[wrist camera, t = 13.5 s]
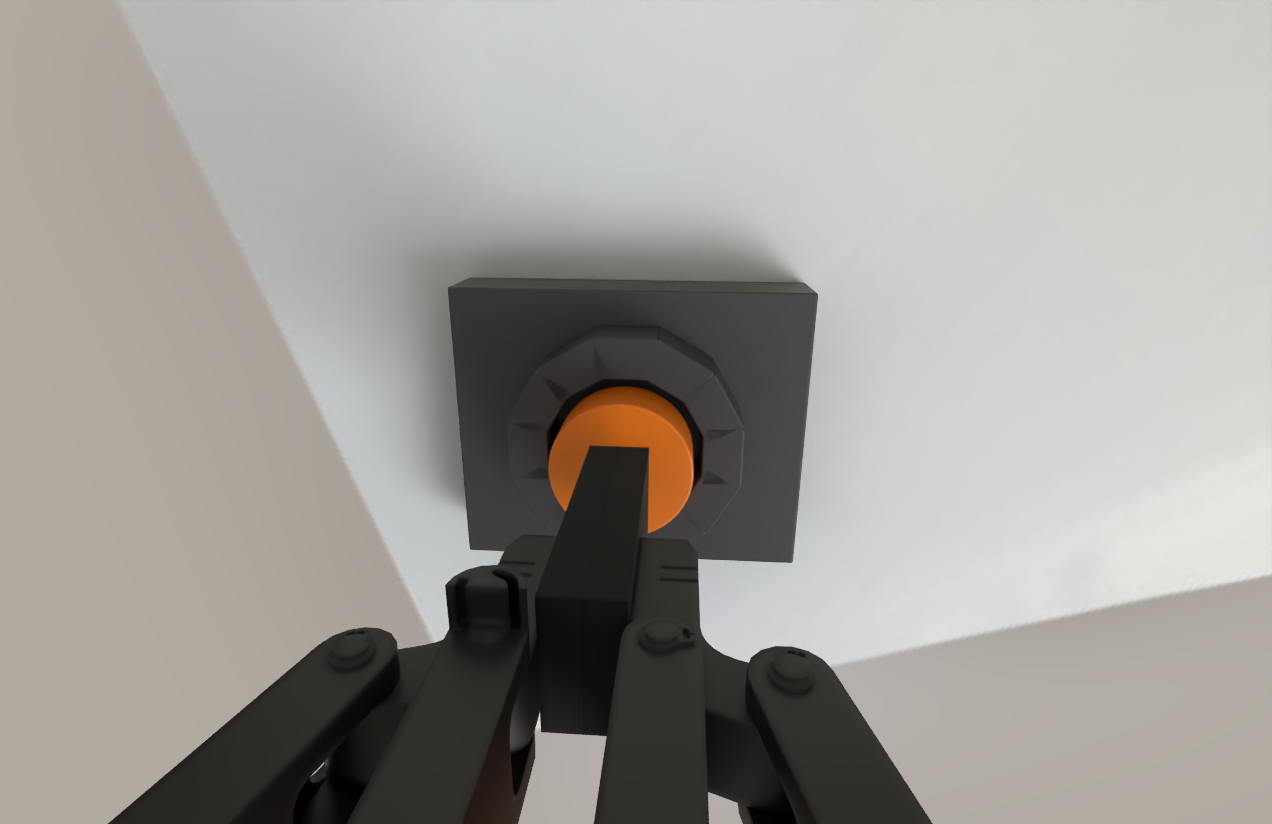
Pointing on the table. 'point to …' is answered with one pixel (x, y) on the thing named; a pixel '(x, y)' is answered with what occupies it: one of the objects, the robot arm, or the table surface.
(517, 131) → the table surface
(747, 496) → the control block
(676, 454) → the button
